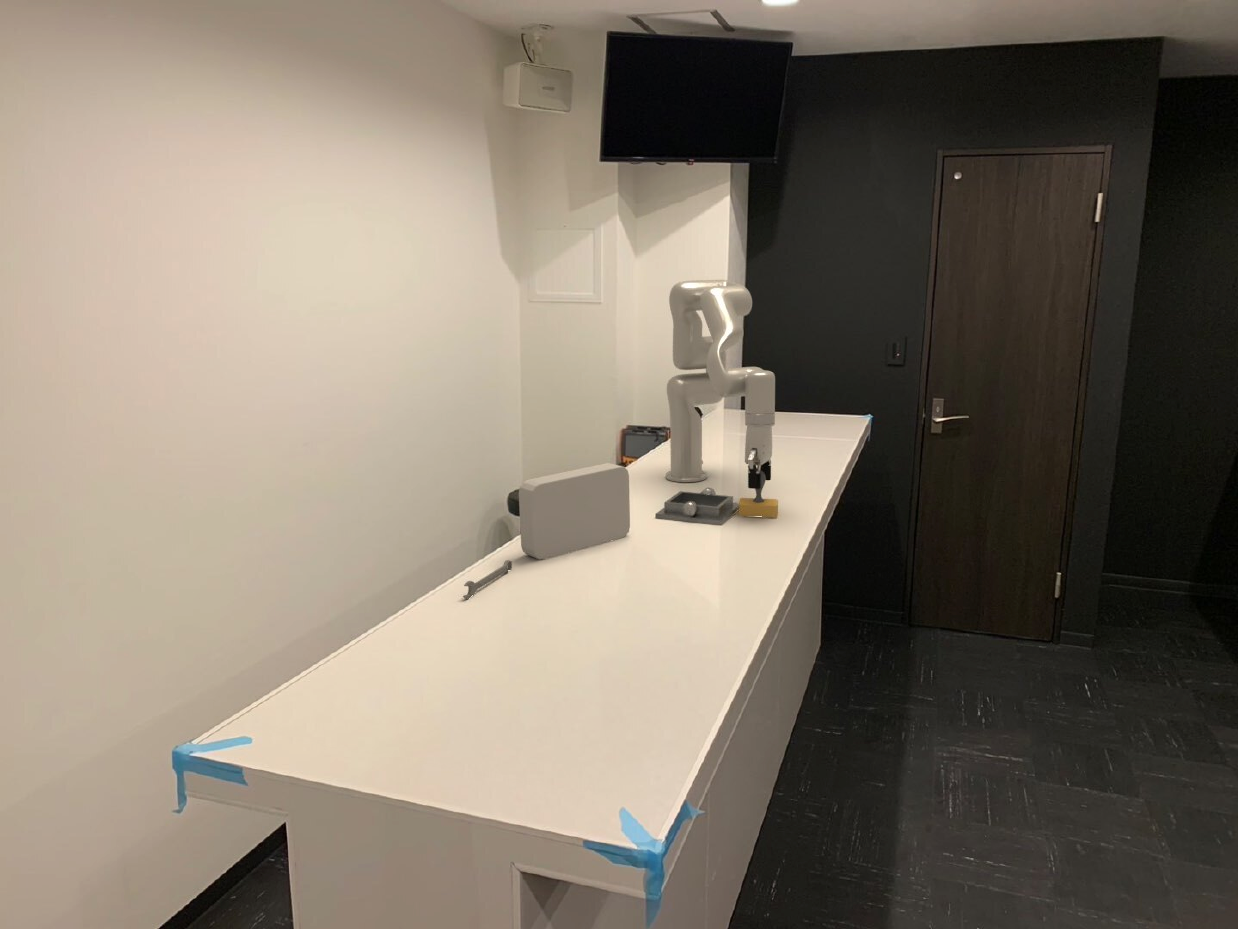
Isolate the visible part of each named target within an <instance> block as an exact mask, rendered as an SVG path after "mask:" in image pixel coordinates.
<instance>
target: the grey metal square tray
mask: <svg viewBox="0 0 1238 929" xmlns="http://www.w3.org/2000/svg"><path fill="white" fill-rule="evenodd" d="M663 505H664V506H663V508H661V509H660V510H659V511H657V512H656V513H655V519H661V520H669V521H676V522H677V521H678V522H685V523H686V522H687V523H695V524H697V523H698V524H706V525H716V526H722V525H724V524H723V523H724V522H725V521H726V522H727V521H728V520H730V518H731V517H733V516H734V515H735V514H736V513H737V512H738V511H737V510H738V506H739V502H734V496H732V495H722V494H716V491H715V490H714V488H712V487H706V488H704V489H702V491H701V492H689V491H681V490H680V491H679V492H677V493H676V494H674V495H673V496H671V497H670V498H669V499H667V500H665V502H664V503H663ZM736 511H737V512H736ZM735 512H736V513H735ZM734 513H735V514H734ZM733 514H734V515H733ZM726 522H725V523H726Z"/></svg>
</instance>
